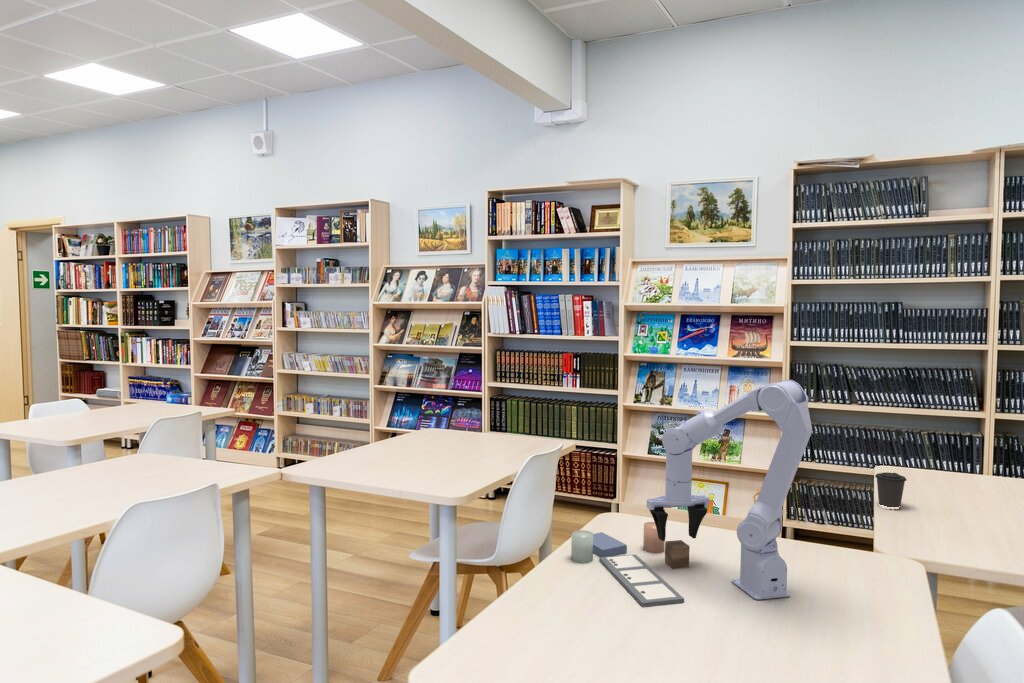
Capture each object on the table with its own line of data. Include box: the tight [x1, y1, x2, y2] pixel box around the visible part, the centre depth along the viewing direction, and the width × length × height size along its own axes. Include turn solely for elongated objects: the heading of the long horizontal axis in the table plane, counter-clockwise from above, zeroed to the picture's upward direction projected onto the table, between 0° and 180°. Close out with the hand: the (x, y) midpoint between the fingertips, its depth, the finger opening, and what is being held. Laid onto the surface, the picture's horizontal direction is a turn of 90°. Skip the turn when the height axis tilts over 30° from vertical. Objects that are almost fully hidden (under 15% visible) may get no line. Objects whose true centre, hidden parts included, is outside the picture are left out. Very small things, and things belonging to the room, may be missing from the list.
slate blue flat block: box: [593, 532, 628, 558], centre depth 164 cm, size 10×7×2 cm
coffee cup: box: [875, 472, 907, 507], centre depth 198 cm, size 8×8×10 cm
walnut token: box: [664, 539, 690, 570], centre depth 154 cm, size 4×4×5 cm
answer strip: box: [598, 554, 685, 608], centre depth 146 cm, size 24×9×1 cm, turn 13°
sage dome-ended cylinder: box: [570, 529, 594, 564], centre depth 157 cm, size 5×5×6 cm
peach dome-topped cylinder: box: [642, 521, 666, 554], centre depth 164 cm, size 5×5×6 cm
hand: (677, 538), depth 154 cm, fingers open, 7 cm apart
